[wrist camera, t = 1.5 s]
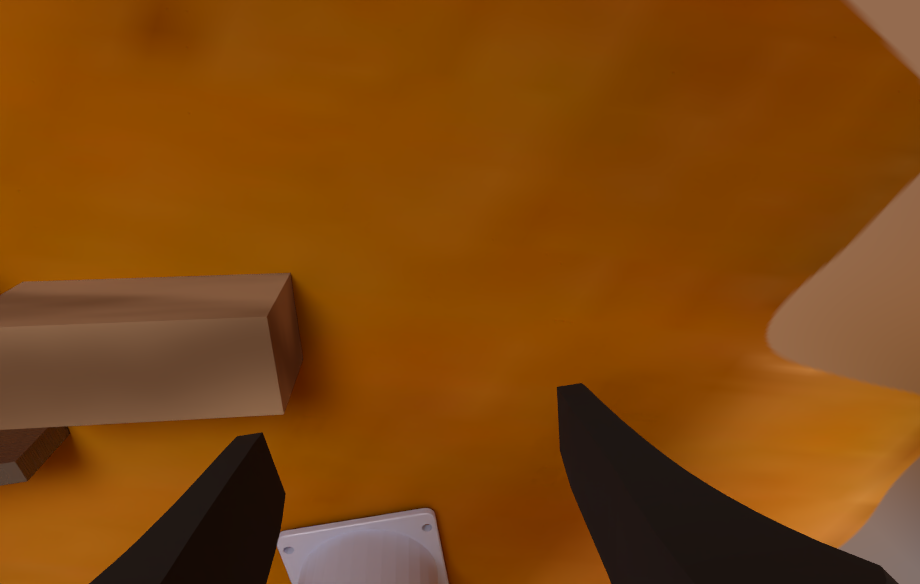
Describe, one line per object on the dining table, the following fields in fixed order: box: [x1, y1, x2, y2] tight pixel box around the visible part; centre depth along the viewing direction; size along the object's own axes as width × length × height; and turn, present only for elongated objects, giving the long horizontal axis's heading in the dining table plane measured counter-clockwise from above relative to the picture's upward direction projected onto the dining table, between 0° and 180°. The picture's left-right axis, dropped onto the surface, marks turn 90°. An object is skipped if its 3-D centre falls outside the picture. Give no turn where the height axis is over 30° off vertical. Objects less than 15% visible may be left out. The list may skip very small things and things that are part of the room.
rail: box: [0, 273, 303, 430], centre depth 19 cm, size 4×10×4 cm, turn 89°
